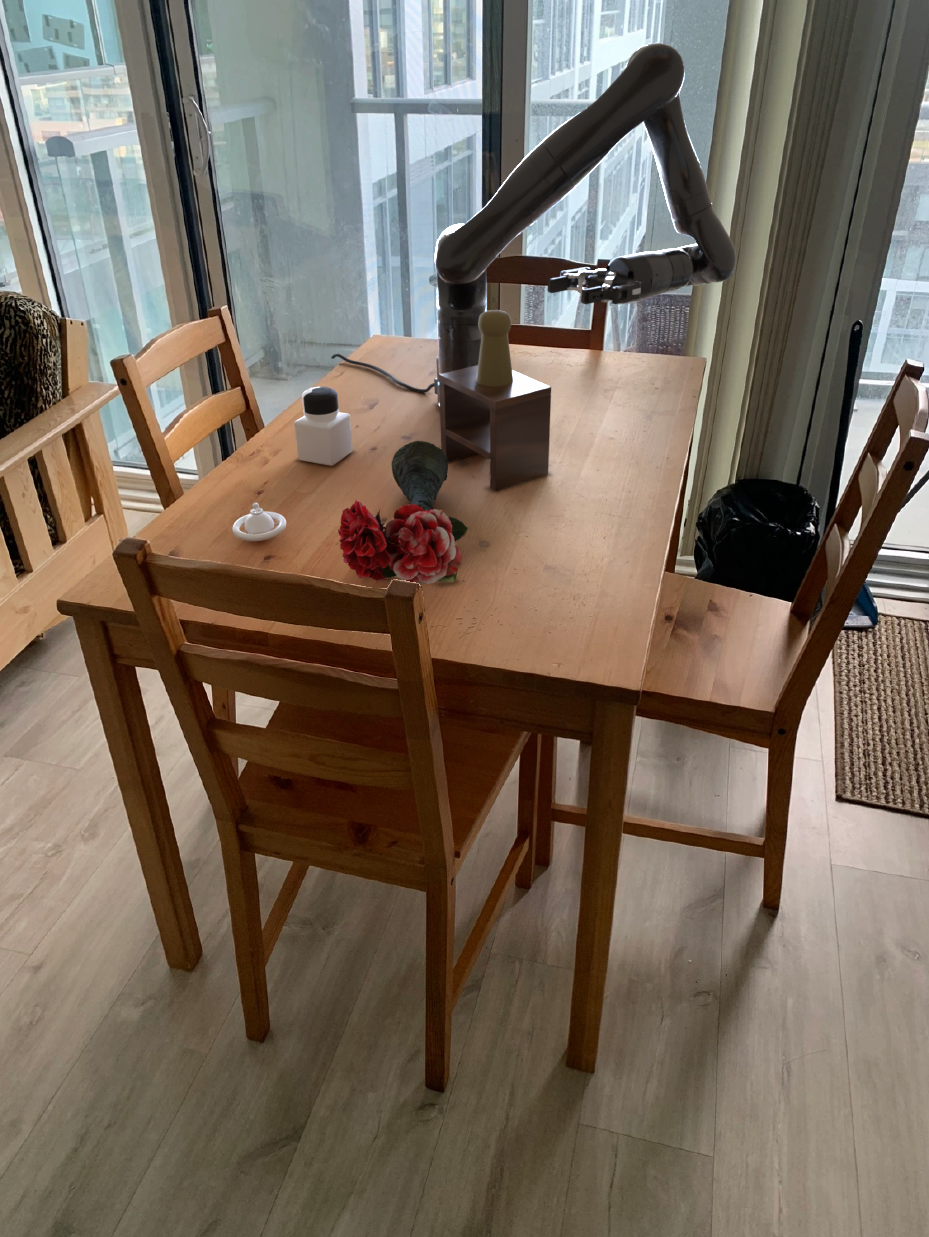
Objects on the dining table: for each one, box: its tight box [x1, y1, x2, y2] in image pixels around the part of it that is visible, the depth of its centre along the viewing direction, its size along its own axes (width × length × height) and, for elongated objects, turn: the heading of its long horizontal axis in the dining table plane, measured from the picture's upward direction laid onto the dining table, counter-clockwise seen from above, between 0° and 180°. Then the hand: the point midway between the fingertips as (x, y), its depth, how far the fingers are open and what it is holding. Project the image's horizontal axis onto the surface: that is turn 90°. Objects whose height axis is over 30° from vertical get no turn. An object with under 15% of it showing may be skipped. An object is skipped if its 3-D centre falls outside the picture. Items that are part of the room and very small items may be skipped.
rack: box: [439, 365, 552, 492], centre depth 156 cm, size 16×11×15 cm
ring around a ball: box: [232, 502, 287, 542], centre depth 139 cm, size 8×6×8 cm
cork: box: [476, 309, 513, 387], centre depth 149 cm, size 6×6×11 cm
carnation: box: [337, 440, 469, 586], centre depth 135 cm, size 16×18×35 cm
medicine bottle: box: [293, 386, 354, 467], centre depth 162 cm, size 7×7×12 cm
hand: (565, 291), depth 152 cm, fingers open, 8 cm apart
